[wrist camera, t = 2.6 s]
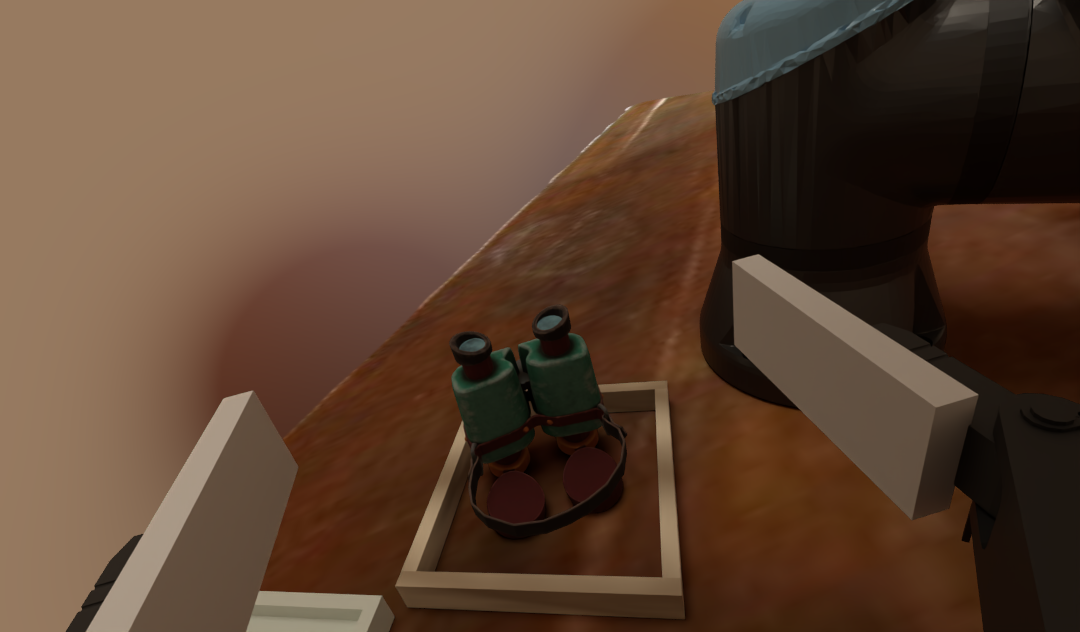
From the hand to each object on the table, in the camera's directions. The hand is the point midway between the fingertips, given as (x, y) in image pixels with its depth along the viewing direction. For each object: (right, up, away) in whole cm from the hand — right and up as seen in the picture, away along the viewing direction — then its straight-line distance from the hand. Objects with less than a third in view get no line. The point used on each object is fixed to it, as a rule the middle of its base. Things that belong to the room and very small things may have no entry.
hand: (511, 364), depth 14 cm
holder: (+2, -9, +17) cm, 19 cm away
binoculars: (+2, -9, +17) cm, 19 cm away
